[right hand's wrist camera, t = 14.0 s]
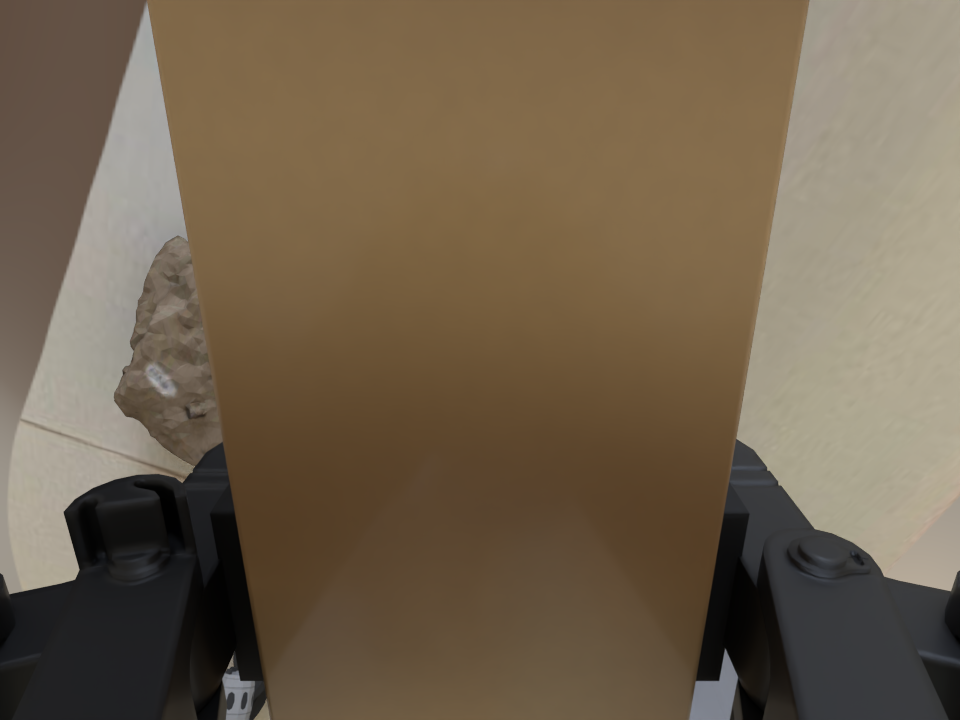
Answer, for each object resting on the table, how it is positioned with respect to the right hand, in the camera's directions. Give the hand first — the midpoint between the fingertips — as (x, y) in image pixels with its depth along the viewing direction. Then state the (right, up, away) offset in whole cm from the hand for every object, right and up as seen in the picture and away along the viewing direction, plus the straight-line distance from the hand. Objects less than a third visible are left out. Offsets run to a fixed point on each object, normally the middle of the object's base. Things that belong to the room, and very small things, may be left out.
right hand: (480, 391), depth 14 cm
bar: (0, +19, -7) cm, 20 cm away
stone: (-18, 0, +41) cm, 45 cm away
